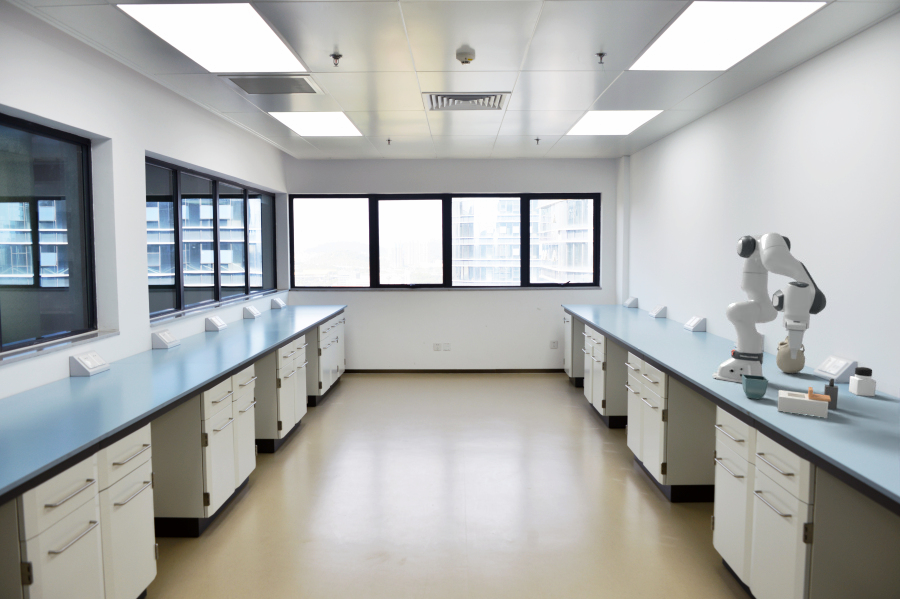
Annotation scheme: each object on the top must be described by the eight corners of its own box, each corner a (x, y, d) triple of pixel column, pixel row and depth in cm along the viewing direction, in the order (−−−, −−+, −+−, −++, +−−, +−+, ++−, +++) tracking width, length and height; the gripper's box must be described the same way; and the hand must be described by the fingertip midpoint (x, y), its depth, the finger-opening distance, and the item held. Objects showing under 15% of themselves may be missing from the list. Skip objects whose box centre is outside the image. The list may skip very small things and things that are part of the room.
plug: (823, 408, 218) (826, 379, 217) (823, 405, 222) (825, 377, 221) (836, 410, 216) (838, 380, 215) (835, 407, 220) (837, 378, 219)
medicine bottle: (875, 396, 237) (877, 369, 236) (856, 395, 239) (859, 368, 238) (866, 392, 244) (868, 366, 243) (848, 391, 246) (850, 365, 245)
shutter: (808, 398, 209) (809, 390, 209) (807, 394, 215) (808, 386, 215) (830, 401, 206) (831, 392, 206) (829, 397, 212) (829, 389, 211)
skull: (803, 372, 284) (806, 334, 282) (804, 377, 271) (807, 338, 270) (775, 369, 291) (778, 332, 289) (774, 374, 278) (777, 336, 276)
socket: (777, 411, 213) (778, 396, 212) (777, 404, 223) (778, 390, 223) (826, 418, 205) (828, 403, 204) (824, 410, 215) (825, 395, 214)
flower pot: (762, 396, 236) (764, 375, 235) (767, 401, 227) (768, 380, 227) (740, 394, 239) (741, 374, 238) (744, 399, 230) (745, 378, 229)
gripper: (786, 319, 223) (784, 352, 225) (786, 325, 206) (784, 360, 207) (804, 320, 220) (802, 354, 221) (806, 326, 203) (803, 362, 204)
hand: (793, 357), depth 214 cm, fingers open, 4 cm apart
